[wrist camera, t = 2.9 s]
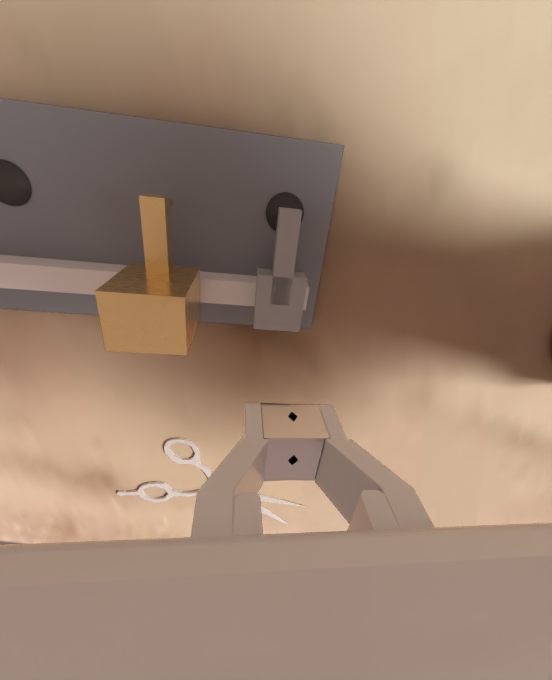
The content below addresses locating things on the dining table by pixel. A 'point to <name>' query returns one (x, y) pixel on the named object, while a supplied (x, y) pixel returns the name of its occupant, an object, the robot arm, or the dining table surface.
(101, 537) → the dining table surface
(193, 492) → the scissors
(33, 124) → the plate
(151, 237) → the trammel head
